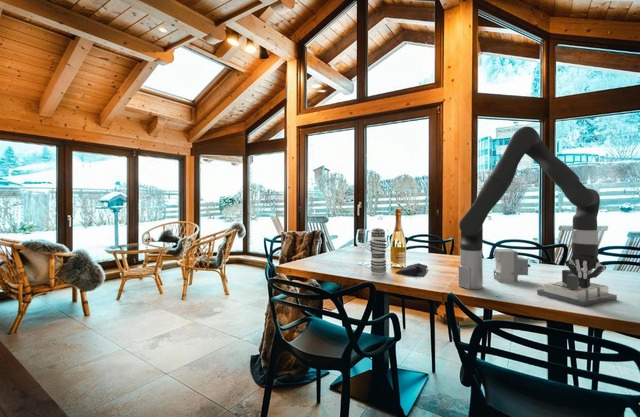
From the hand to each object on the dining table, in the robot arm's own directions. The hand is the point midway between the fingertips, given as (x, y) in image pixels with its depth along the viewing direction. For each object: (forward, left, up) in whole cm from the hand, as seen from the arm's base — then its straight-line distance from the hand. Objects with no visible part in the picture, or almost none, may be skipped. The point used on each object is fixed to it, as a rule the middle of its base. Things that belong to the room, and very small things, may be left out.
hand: (584, 288), depth 117 cm
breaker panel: (+7, +7, -6) cm, 12 cm away
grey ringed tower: (-42, +78, -7) cm, 88 cm away
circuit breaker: (+8, +36, -7) cm, 37 cm away
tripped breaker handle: (0, +4, -1) cm, 4 cm away
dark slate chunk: (-23, +72, -7) cm, 76 cm away
